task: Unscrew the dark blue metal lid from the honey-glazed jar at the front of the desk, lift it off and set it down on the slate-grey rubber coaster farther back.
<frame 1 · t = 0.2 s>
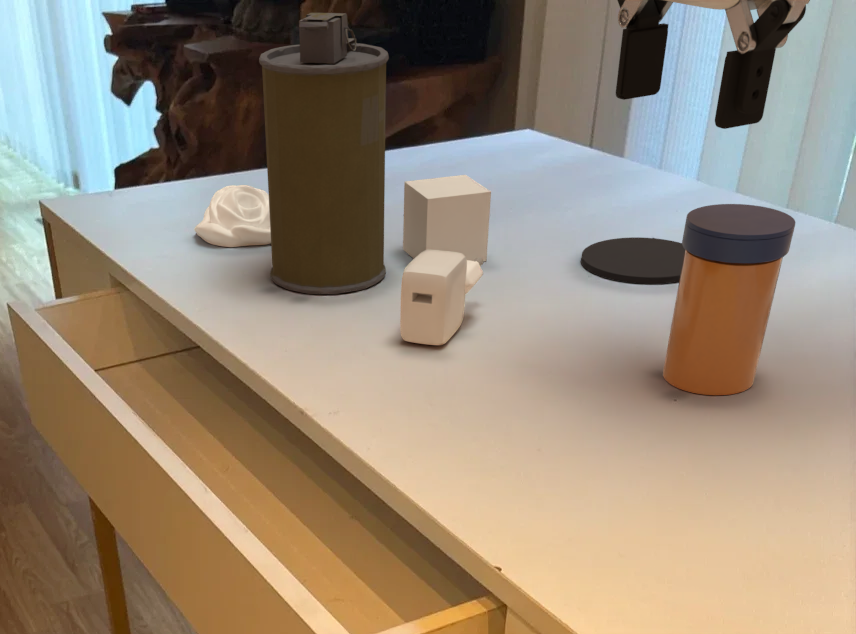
hand: (685, 109, 71), 18 cm above the table, tool pointing down, fingers open, 9 cm apart
power adapter: (442, 325, 91), on the table
jar: (707, 377, 82), on the table
rose: (245, 236, 111), on the table
coaster: (642, 263, 101), on the table
canister: (328, 276, 101), on the table
jar lid: (739, 223, 75), point 11 cm above the table, screwed on, not yet turned
beige cube: (443, 257, 104), on the table
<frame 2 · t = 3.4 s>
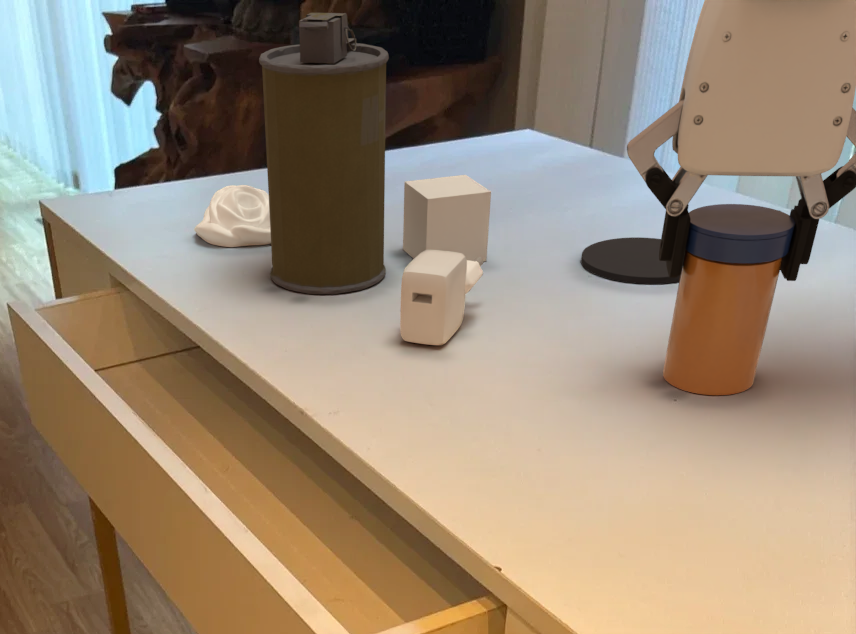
hand: (729, 270, 77), 8 cm above the table, tool pointing down, fingers closed on jar lid, 7 cm apart
jar lid: (739, 223, 75), point 11 cm above the table, screwed on, not yet turned, touching gripper
everything else where it was.
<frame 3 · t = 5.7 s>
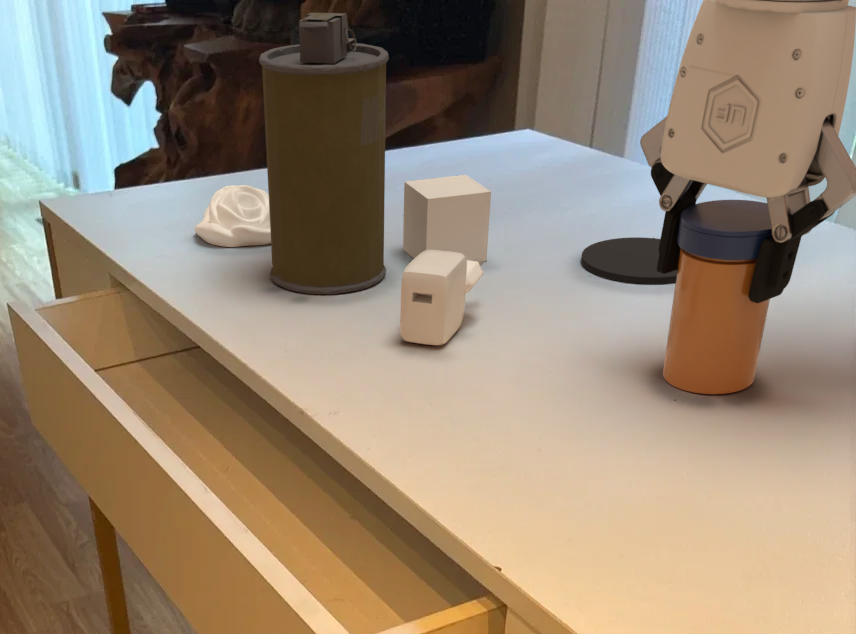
hand: (718, 281, 77), 7 cm above the table, tool pointing down, fingers closed on jar lid, 6 cm apart
jar: (708, 375, 82), on the table, touching gripper
jar lid: (734, 219, 75), point 11 cm above the table, turned 137° so far, risen 0.2 cm, still on its thread, touching gripper
everything else where it was.
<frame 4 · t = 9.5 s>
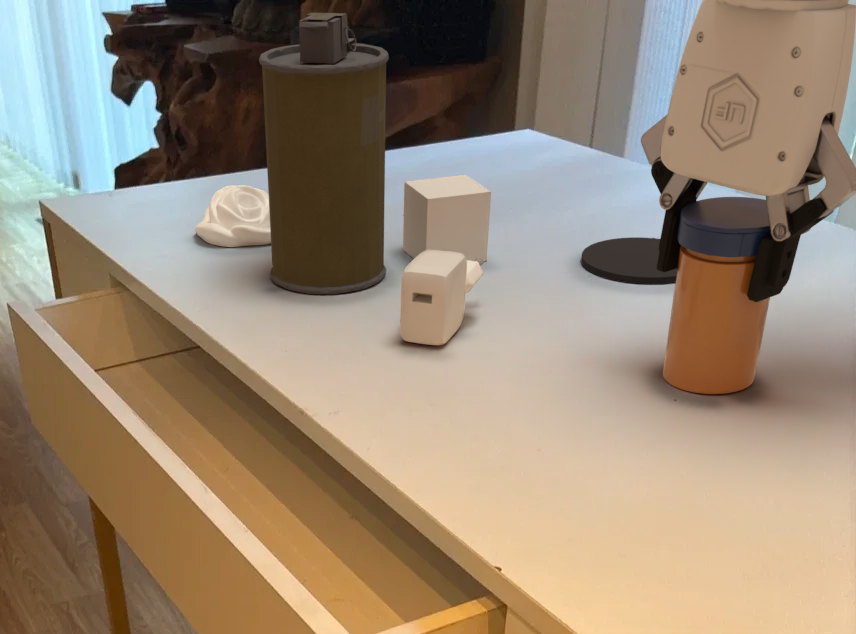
hand: (718, 279, 77), 7 cm above the table, tool pointing down, fingers closed on jar lid, 6 cm apart
jar lid: (734, 216, 75), point 11 cm above the table, turned 273° so far, risen 0.3 cm, still on its thread, touching gripper
everything else where it was.
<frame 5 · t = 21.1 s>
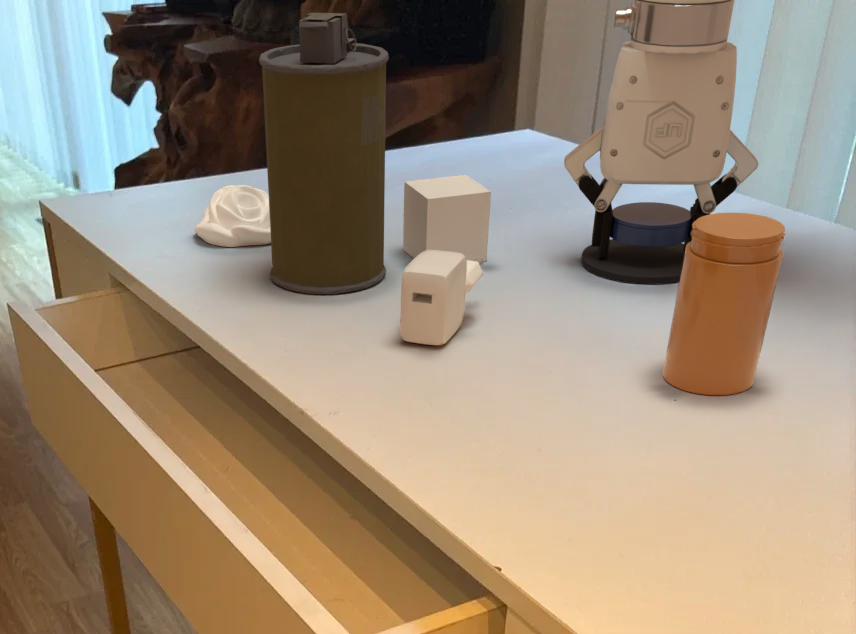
hand: (645, 253, 100), 1 cm above the table, tool pointing down, fingers closed on jar lid, 7 cm apart
jar: (707, 377, 82), on the table
jar lid: (651, 217, 98), point 4 cm above the table, off its thread, touching gripper
everything else where it was.
when the fingers open (1 cm above the table, at t = 27.7 s): jar lid drops 2 cm, resting on coaster.
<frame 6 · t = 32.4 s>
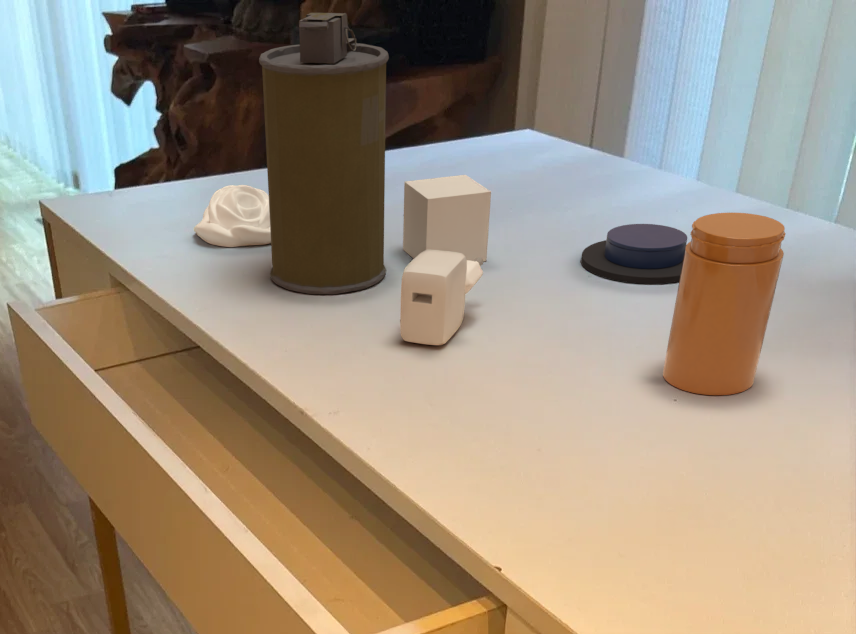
jar lid: (646, 239, 100), point 2 cm above the table, off its thread, touching coaster
everything else where it was.
at the end: jar lid inside the target area on the coaster (0.0 cm from its centre), point 2.1 cm above the coaster's base; jar lid point 2.1 cm above the table; the gripper is holding nothing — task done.
